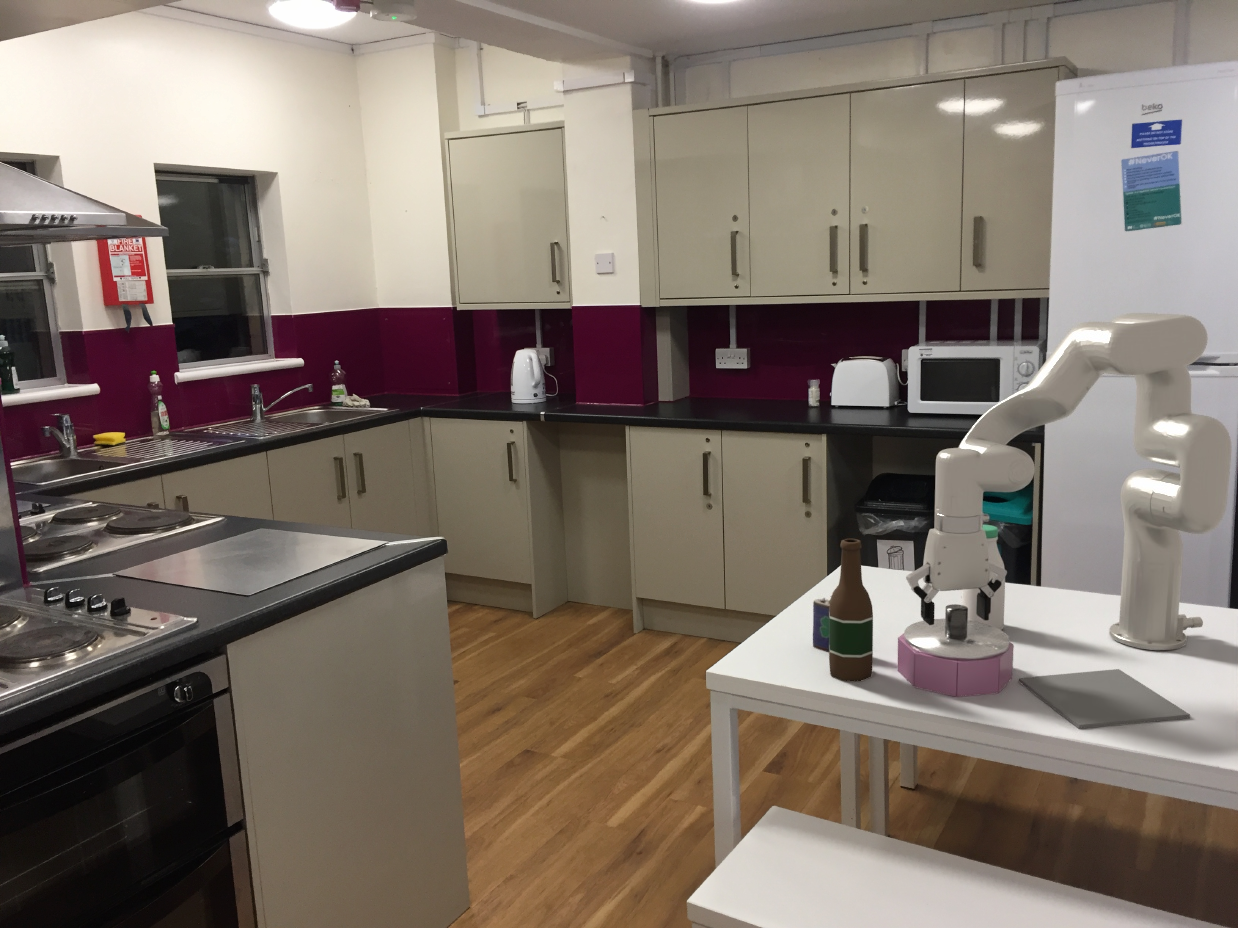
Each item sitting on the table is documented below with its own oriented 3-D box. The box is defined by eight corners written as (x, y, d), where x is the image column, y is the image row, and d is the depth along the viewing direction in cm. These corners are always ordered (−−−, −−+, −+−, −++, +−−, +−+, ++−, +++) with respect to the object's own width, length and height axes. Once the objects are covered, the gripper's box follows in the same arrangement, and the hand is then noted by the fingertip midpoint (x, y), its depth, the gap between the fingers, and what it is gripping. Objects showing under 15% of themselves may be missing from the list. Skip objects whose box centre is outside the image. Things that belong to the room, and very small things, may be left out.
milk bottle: (1006, 635, 190) (1010, 532, 186) (963, 633, 192) (966, 532, 188) (999, 621, 198) (1003, 522, 194) (958, 619, 199) (961, 521, 195)
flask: (861, 653, 185) (861, 597, 182) (854, 658, 182) (854, 601, 180) (816, 642, 190) (816, 588, 188) (808, 647, 188) (808, 592, 186)
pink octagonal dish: (978, 651, 183) (979, 620, 182) (1027, 690, 166) (1029, 655, 165) (886, 659, 181) (886, 627, 180) (926, 699, 164) (927, 664, 163)
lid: (979, 620, 182) (980, 588, 180) (1028, 655, 165) (1030, 620, 164) (888, 628, 180) (889, 595, 179) (929, 664, 163) (930, 629, 162)
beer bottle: (865, 685, 170) (866, 548, 166) (821, 677, 174) (820, 543, 170) (879, 669, 177) (880, 537, 172) (836, 661, 181) (837, 532, 176)
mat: (1118, 672, 172) (1118, 668, 172) (1189, 717, 154) (1190, 714, 154) (1018, 681, 170) (1018, 677, 170) (1078, 728, 152) (1079, 724, 152)
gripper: (996, 513, 173) (993, 608, 176) (899, 520, 171) (897, 616, 174) (1018, 524, 166) (1014, 623, 169) (917, 531, 164) (915, 631, 167)
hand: (955, 620), depth 172 cm, fingers open, 9 cm apart
